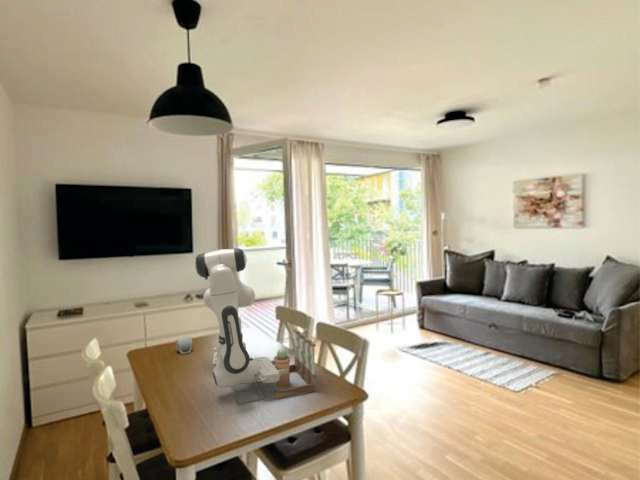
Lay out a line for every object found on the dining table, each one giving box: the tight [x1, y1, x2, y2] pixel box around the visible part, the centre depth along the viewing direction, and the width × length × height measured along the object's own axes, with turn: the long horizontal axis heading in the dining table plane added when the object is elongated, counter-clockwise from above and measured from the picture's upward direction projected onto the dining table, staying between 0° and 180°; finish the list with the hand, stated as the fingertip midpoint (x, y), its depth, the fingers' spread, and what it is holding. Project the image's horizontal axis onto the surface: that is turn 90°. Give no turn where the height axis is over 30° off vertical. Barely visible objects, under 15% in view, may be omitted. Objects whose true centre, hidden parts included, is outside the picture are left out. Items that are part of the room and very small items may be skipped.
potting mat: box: [231, 382, 265, 405], centre depth 156 cm, size 20×10×1 cm, turn 23°
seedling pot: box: [273, 348, 291, 389], centre depth 162 cm, size 7×7×16 cm
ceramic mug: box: [175, 335, 194, 355], centre depth 206 cm, size 11×8×8 cm
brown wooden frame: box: [273, 328, 317, 401], centre depth 163 cm, size 24×18×20 cm
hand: (283, 366), depth 162 cm, fingers open, 8 cm apart
